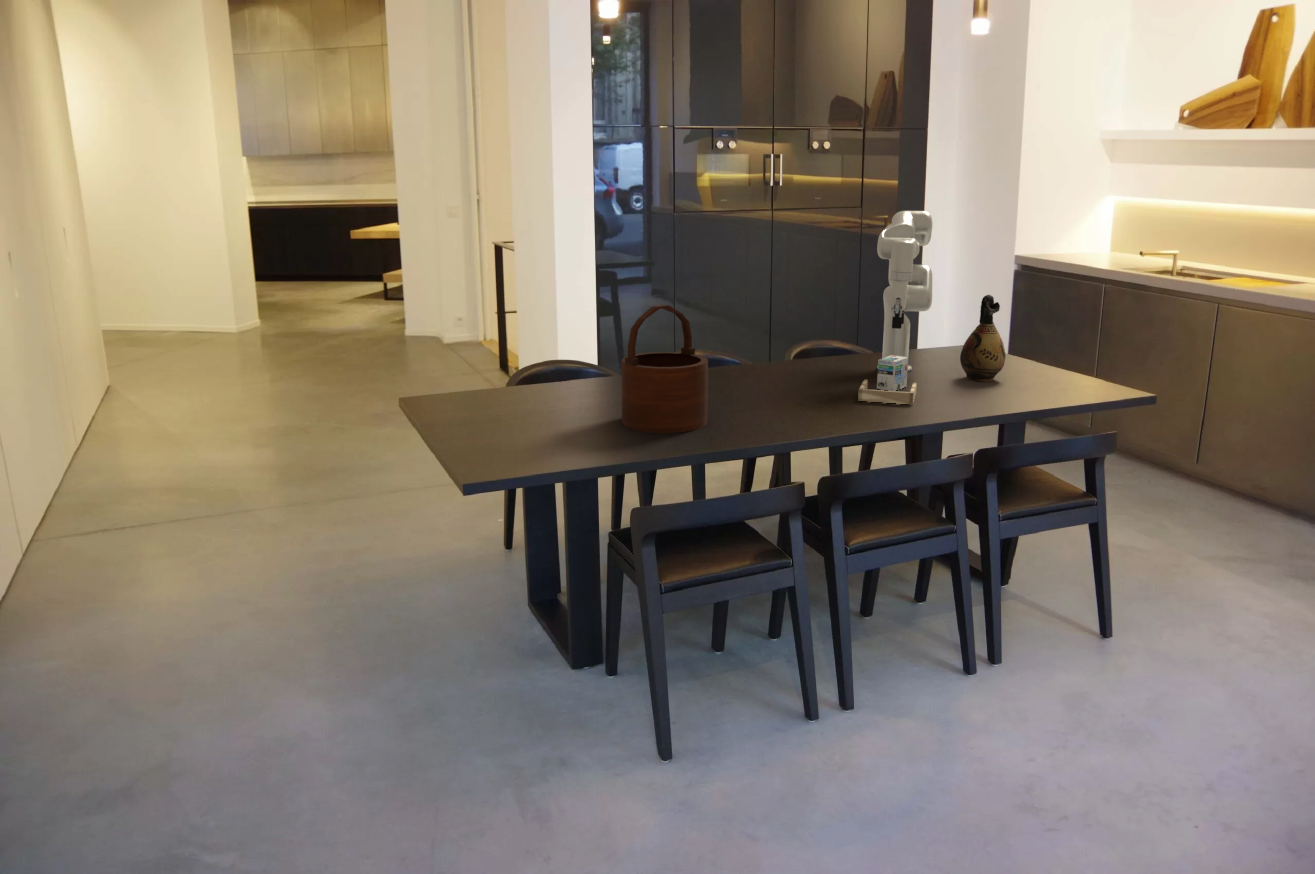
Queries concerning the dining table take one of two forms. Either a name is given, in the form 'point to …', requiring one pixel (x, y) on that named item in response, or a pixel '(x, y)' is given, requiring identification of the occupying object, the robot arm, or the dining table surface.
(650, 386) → the wooden bucket
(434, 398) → the dining table surface
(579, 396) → the dining table surface
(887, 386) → the light bulb box
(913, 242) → the robot arm
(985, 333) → the ceramic jug
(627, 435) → the dining table surface
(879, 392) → the birch stall
